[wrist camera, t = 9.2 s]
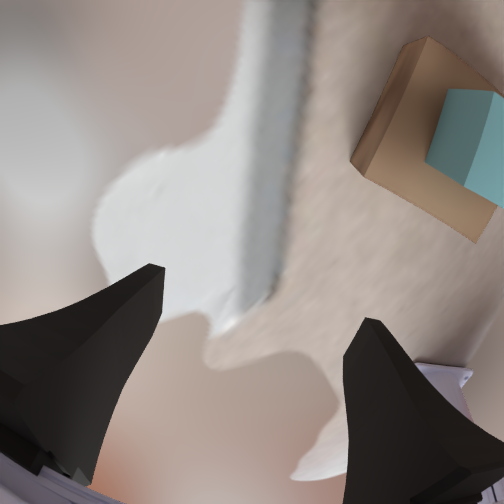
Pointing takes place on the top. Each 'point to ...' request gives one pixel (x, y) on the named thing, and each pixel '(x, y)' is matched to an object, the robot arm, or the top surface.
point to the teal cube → (471, 142)
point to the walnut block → (421, 136)
